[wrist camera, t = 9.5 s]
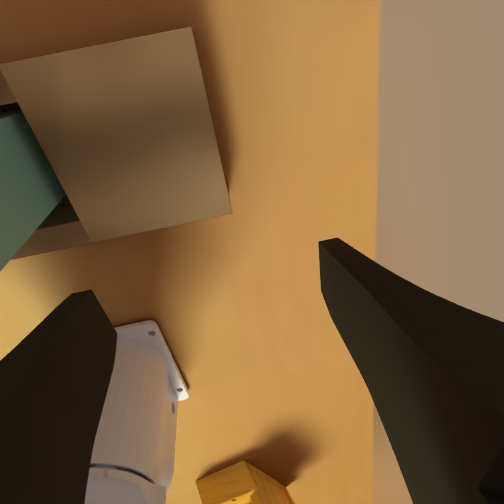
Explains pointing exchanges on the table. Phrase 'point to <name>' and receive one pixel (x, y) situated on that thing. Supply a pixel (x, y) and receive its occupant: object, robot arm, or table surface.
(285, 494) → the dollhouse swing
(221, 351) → the table surface
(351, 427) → the table surface
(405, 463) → the robot arm
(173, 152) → the walnut rail
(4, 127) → the teal peg
